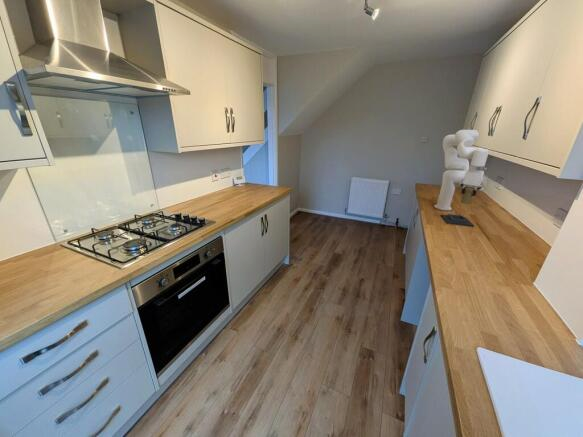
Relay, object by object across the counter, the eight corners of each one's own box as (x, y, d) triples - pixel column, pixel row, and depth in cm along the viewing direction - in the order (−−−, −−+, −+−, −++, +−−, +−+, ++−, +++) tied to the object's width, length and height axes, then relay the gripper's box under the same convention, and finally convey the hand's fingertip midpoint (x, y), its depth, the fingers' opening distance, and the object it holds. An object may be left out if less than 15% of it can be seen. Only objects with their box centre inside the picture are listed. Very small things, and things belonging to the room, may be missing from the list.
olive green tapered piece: (472, 204, 161) (477, 188, 157) (462, 203, 162) (467, 188, 158) (468, 201, 167) (473, 186, 163) (458, 201, 168) (463, 185, 164)
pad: (441, 215, 181) (442, 212, 180) (465, 218, 176) (466, 214, 175) (446, 223, 166) (448, 219, 165) (473, 226, 162) (474, 222, 161)
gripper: (493, 169, 152) (484, 196, 159) (462, 166, 164) (455, 191, 171) (491, 171, 147) (481, 198, 154) (459, 167, 159) (452, 193, 166)
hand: (468, 194), depth 162 cm, fingers closed on olive green tapered piece, 5 cm apart
